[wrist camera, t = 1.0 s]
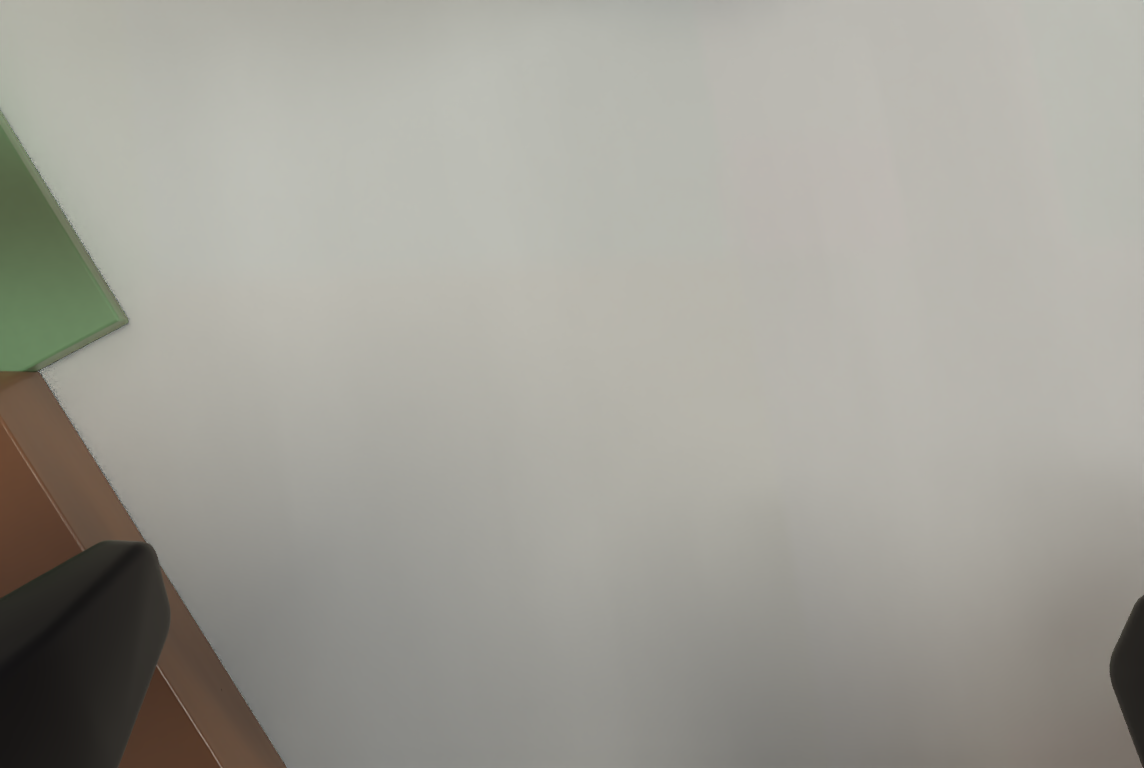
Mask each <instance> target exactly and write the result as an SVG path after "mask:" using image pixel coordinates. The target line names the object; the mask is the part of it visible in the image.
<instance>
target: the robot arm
mask: <svg viewBox="0 0 1144 768" xmlns="http://www.w3.org/2000/svg"><path fill="white" fill-rule="evenodd" d="M170 622H171V609H170V604H169V600H168V596H167V592H166V588H165V584H164V580H163V576H162V572H161V569H160V565H159V561H158V557H157V554H156V551H155V550H154V548H153V547H152V546H151V545H150V544H148V543H146V542H143V541H126V540H105V541H101V542H99V543H97V544H95V545H93V546H92V547H90V548H88V549H86V550H84V551H83V552H81V553H79V554H77V555H76V556H74V557H72V558H70V559H69V560H67V561H65V562H63V563H62V564H60V565H58V566H56V567H55V568H53V569H51V570H49V571H47V572H46V573H44V574H42V575H40V576H39V577H37V578H35V579H33V580H32V581H30V582H28V583H26V584H25V585H23V586H21V587H19V588H18V589H16V590H14V591H12V592H10V593H9V594H7V595H5V596H3V597H2V598H0V768H118V767H119V764H120V762H121V759H122V756H123V754H124V751H125V748H126V745H127V743H128V740H129V737H130V735H131V732H132V729H133V727H134V724H135V721H136V719H137V716H138V713H139V711H140V708H141V705H142V703H143V700H144V697H145V695H146V692H147V689H148V687H149V684H150V681H151V679H152V676H153V673H154V671H155V668H156V665H157V663H158V660H159V657H160V655H161V652H162V649H163V647H164V644H165V641H166V638H167V635H168V632H169V628H170ZM1110 677H1111V682H1112V686H1113V689H1114V691H1115V694H1116V697H1117V699H1118V702H1119V705H1120V708H1121V710H1122V713H1123V716H1124V718H1125V721H1126V724H1127V726H1128V729H1129V732H1130V734H1131V737H1132V740H1133V743H1134V745H1135V748H1136V751H1137V753H1138V756H1139V759H1140V761H1141V764H1142V767H1143V768H1144V595H1143V596H1142V597H1141V598H1139V599H1138V600H1137V602H1136V603H1135V605H1134V607H1133V610H1132V612H1131V614H1130V616H1129V618H1128V620H1127V622H1126V625H1125V627H1124V629H1123V631H1122V633H1121V635H1120V638H1119V640H1118V642H1117V644H1116V646H1115V648H1114V650H1113V653H1112V656H1111V660H1110Z"/></svg>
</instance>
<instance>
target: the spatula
mask: <svg viewBox="0 0 1144 768" xmlns="http://www.w3.org/2000/svg"><path fill="white" fill-rule="evenodd" d="M127 323H128V318H127V317H126V315H125V313H124V312H123V310H122V309H121V307H120V305H119V304H118V302H117V300H116V299H115V297H114V295H113V294H112V292H111V291H110V289H109V287H108V286H107V284H106V282H105V281H104V279H103V278H102V276H101V274H100V273H99V271H98V269H97V268H96V266H95V264H94V263H93V261H92V260H91V258H90V256H89V255H88V253H87V251H86V250H85V248H84V246H83V245H82V243H81V242H80V240H79V238H78V237H77V235H76V233H75V232H74V230H73V229H72V227H71V225H70V224H69V222H68V220H67V219H66V217H65V215H64V214H63V212H62V211H61V209H60V207H59V206H58V204H57V202H56V201H55V199H54V198H53V196H52V194H51V193H50V191H49V189H48V188H47V186H46V184H45V183H44V181H43V180H42V178H41V176H40V175H39V173H38V171H37V170H36V168H35V167H34V165H33V163H32V162H31V160H30V158H29V157H28V155H27V153H26V152H25V150H24V149H23V147H22V145H21V144H20V142H19V140H18V139H17V137H16V136H15V134H14V132H13V131H12V129H11V127H10V126H9V124H8V122H7V121H6V119H5V118H4V116H3V114H2V113H1V111H0V598H2V597H3V596H5V595H7V594H9V593H10V592H12V591H14V590H16V589H18V588H19V587H21V586H23V585H25V584H26V583H28V582H30V581H32V580H33V579H35V578H37V577H39V576H40V575H42V574H44V573H46V572H47V571H49V570H51V569H53V568H55V567H56V566H58V565H60V564H62V563H63V562H65V561H67V560H69V559H70V558H72V557H74V556H76V555H77V554H79V553H81V552H83V551H84V550H86V549H88V548H90V547H92V546H93V545H95V544H97V543H99V542H101V541H105V540H126V541H143V542H145V541H144V539H143V537H142V536H141V534H140V533H139V531H138V529H137V528H136V526H135V525H134V523H133V521H132V520H131V518H130V517H129V515H128V513H127V512H126V510H125V509H124V507H123V505H122V504H121V502H120V501H119V499H118V497H117V496H116V494H115V493H114V491H113V489H112V488H111V486H110V485H109V483H108V481H107V480H106V478H105V477H104V475H103V473H102V472H101V470H100V469H99V467H98V465H97V464H96V462H95V461H94V459H93V457H92V456H91V454H90V453H89V451H88V449H87V448H86V446H85V445H84V443H83V441H82V440H81V438H80V437H79V435H78V433H77V432H76V430H75V429H74V427H73V425H72V424H71V422H70V421H69V419H68V417H67V416H66V414H65V413H64V411H63V409H62V408H61V406H60V405H59V403H58V401H57V400H56V398H55V397H54V395H53V393H52V392H51V390H50V389H49V387H48V386H47V384H46V382H45V381H44V379H43V378H42V376H41V374H40V373H39V372H36V371H38V370H40V369H42V368H44V367H46V366H48V365H50V364H52V363H53V362H55V361H57V360H59V359H61V358H63V357H65V356H67V355H68V354H70V353H72V352H74V351H76V350H78V349H80V348H82V347H84V346H85V345H87V344H89V343H91V342H93V341H95V340H97V339H99V338H101V337H102V336H104V335H106V334H108V333H110V332H112V331H114V330H116V329H118V328H119V327H121V326H123V325H125V324H127ZM159 565H160V564H159ZM160 569H161V572H162V576H163V580H164V584H165V588H166V592H167V596H168V600H169V604H170V609H171V622H170V628H169V632H168V635H167V638H166V641H165V644H164V647H163V649H162V652H161V655H160V657H159V660H158V663H157V665H156V668H155V671H154V673H153V676H152V679H151V681H150V684H149V687H148V689H147V692H146V695H145V697H144V700H143V703H142V705H141V708H140V711H139V713H138V716H137V719H136V721H135V724H134V727H133V729H132V732H131V735H130V737H129V740H128V743H127V745H126V748H125V751H124V754H123V756H122V759H121V762H120V764H119V767H118V768H287V767H286V766H285V764H284V763H283V761H282V759H281V758H280V756H279V755H278V753H277V751H276V750H275V748H274V747H273V745H272V743H271V742H270V740H269V739H268V737H267V735H266V734H265V732H264V731H263V729H262V727H261V726H260V724H259V723H258V721H257V719H256V718H255V716H254V715H253V713H252V711H251V710H250V708H249V707H248V705H247V703H246V702H245V700H244V699H243V697H242V695H241V694H240V692H239V691H238V689H237V688H236V686H235V684H234V683H233V681H232V680H231V678H230V676H229V675H228V673H227V672H226V670H225V668H224V667H223V665H222V664H221V662H220V660H219V659H218V657H217V656H216V654H215V652H214V651H213V649H212V648H211V646H210V644H209V643H208V641H207V640H206V638H205V636H204V635H203V633H202V632H201V630H200V628H199V627H198V625H197V624H196V622H195V620H194V619H193V617H192V616H191V614H190V612H189V611H188V609H187V608H186V606H185V604H184V603H183V601H182V600H181V598H180V596H179V595H178V593H177V592H176V590H175V588H174V587H173V585H172V584H171V582H170V580H169V579H168V577H167V576H166V574H165V572H164V571H163V569H162V568H161V566H160Z"/></svg>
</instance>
